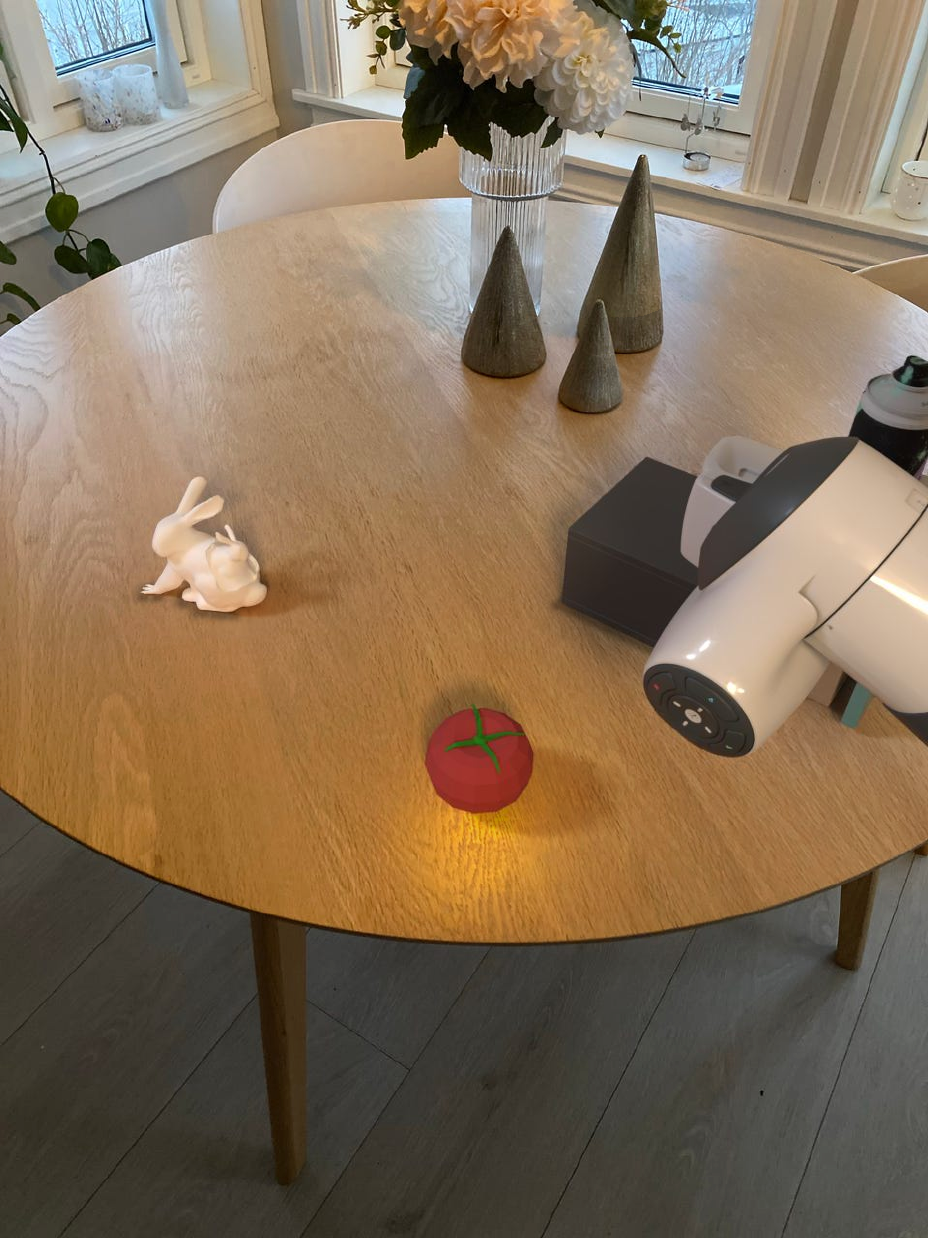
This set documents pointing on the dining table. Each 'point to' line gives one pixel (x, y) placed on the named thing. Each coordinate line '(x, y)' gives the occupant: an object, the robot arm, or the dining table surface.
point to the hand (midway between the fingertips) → (880, 468)
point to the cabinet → (632, 553)
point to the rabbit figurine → (205, 558)
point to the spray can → (897, 415)
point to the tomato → (479, 760)
